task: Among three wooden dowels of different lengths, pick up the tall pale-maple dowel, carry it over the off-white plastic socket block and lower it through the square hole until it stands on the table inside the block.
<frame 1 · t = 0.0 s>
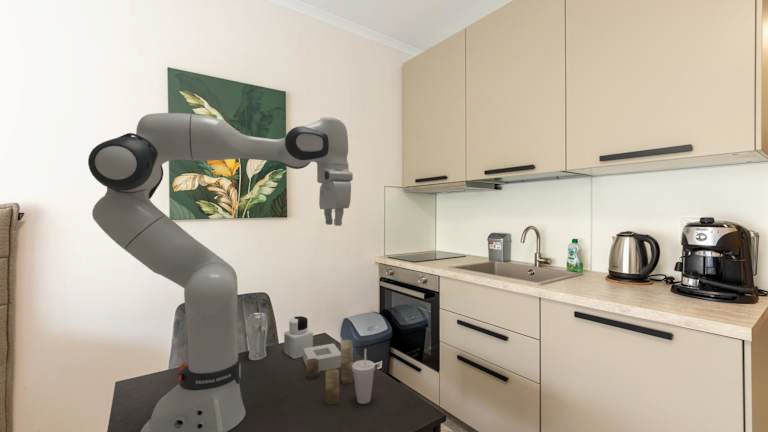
hand: (333, 225, 95), 48 cm above the table, fingers open, 8 cm apart
container: (298, 353, 123), on the table
smoothie: (363, 400, 92), on the table
oak pin: (332, 401, 91), on the table
walnut pin: (312, 376, 105), on the table
maple pin: (346, 380, 102), on the table
beer glass: (257, 357, 120), on the table
socket block: (322, 363, 114), on the table
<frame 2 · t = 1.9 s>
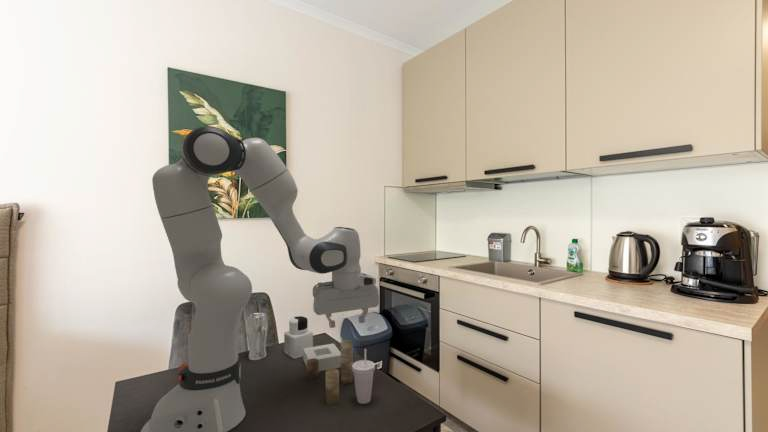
hand: (347, 324, 102), 17 cm above the table, fingers open, 8 cm apart
nothing on the table moved.
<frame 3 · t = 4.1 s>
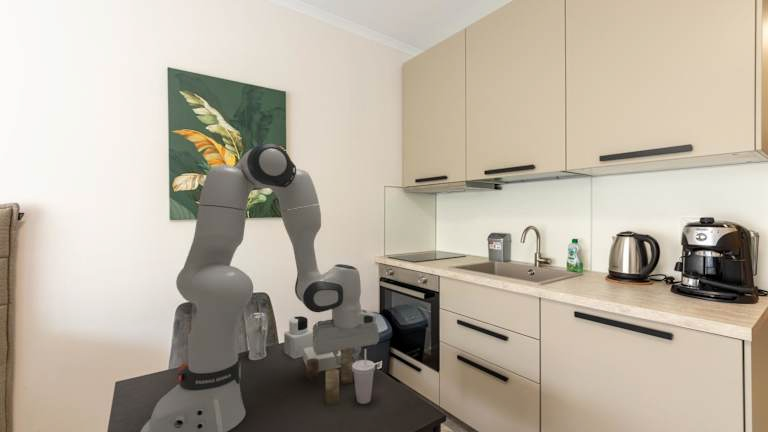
hand: (346, 362, 102), 6 cm above the table, fingers closed on maple pin, 4 cm apart
maple pin: (347, 380, 102), on the table, touching gripper
everything else where it was.
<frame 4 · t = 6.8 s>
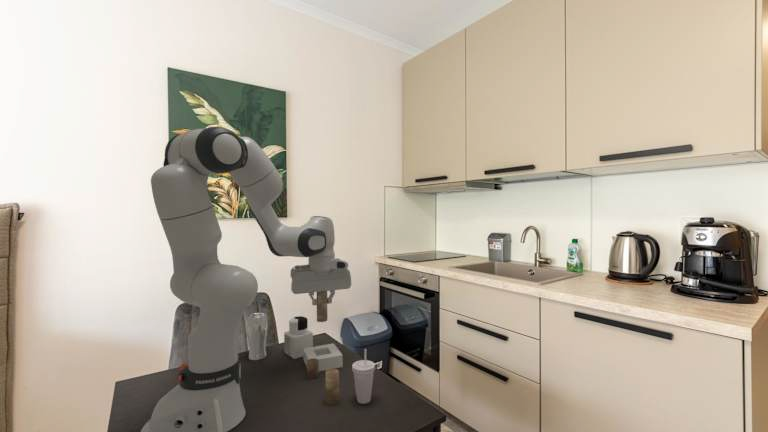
hand: (322, 304, 114), 20 cm above the table, fingers closed on maple pin, 4 cm apart
maple pin: (322, 320, 114), point 15 cm above the table, touching gripper
everything else where it was.
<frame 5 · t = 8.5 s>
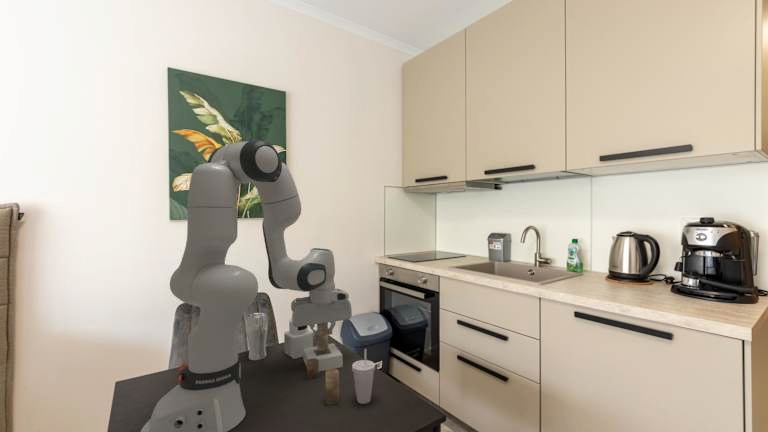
hand: (322, 335, 114), 10 cm above the table, fingers closed on maple pin, 4 cm apart
maple pin: (322, 351, 115), point 4 cm above the table, touching gripper
everything else where it was.
when the fingers open (7 cm above the table, at t = 9.9 s): maple pin stays where it is, resting in socket block.
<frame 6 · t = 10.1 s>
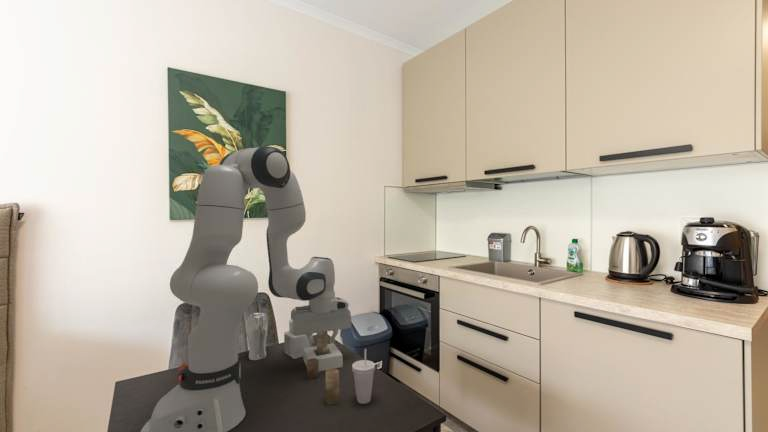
hand: (322, 344, 114), 7 cm above the table, fingers open, 5 cm apart
maple pin: (322, 363, 114), resting in socket block
everything else where it was.
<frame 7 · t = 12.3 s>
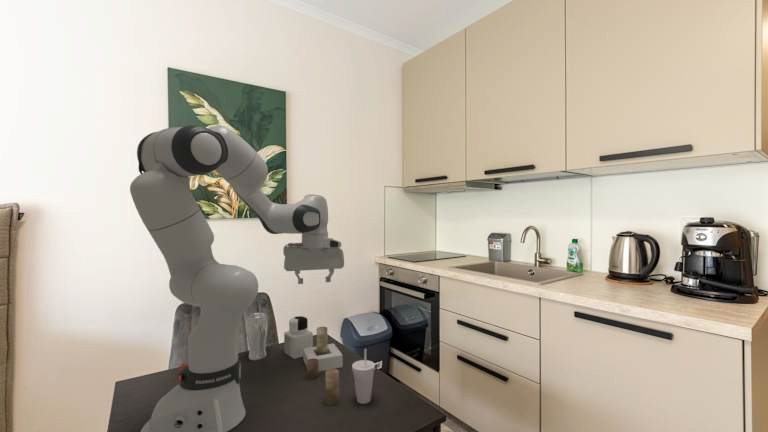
hand: (314, 282, 114), 28 cm above the table, fingers open, 8 cm apart
nothing on the table moved.
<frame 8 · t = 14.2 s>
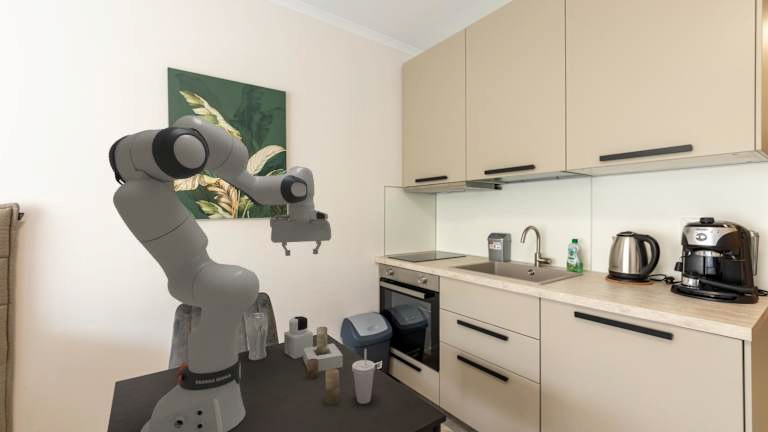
hand: (301, 254, 115), 37 cm above the table, fingers open, 8 cm apart
nothing on the table moved.
at the end: maple pin 0.1 cm off-centre on the socket block, point 0.0 cm above the socket block's base; maple pin tilted 0°; the gripper is holding nothing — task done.
